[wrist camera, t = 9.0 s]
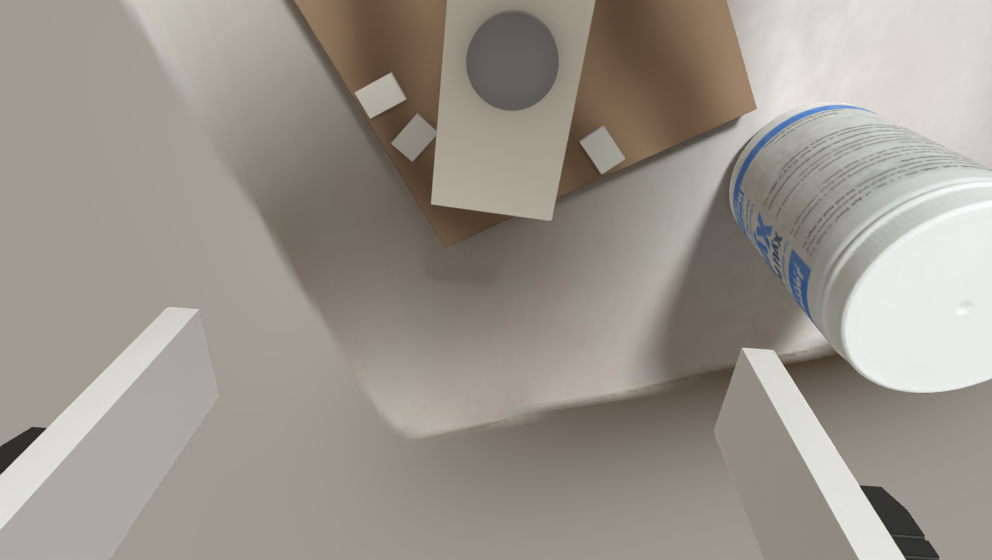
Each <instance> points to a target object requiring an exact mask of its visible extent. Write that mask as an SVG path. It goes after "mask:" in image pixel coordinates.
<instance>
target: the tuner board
mask: <svg viewBox="0 0 992 560" xmlns="http://www.w3.org/2000/svg"><path fill="white" fill-rule="evenodd" d="M294 1H295V3H296V4H297V6H298V7H299V9H300V11H301V12H302V14H303V16H304V17H305V19H306V21H307V22H308V24H309V25H310V27H311V29H312V30H313V32H314V34H315V35H316V37H317V39H318V40H319V42H320V43H321V45H322V47H323V48H324V50H325V52H326V53H327V55H328V57H329V58H330V60H331V61H332V63H333V65H334V66H335V68H336V70H337V71H338V73H339V75H340V76H341V78H342V79H343V81H344V83H345V84H346V86H347V88H348V89H349V91H350V93H351V94H352V96H353V97H354V99H355V101H356V102H357V104H358V106H359V107H360V109H361V111H362V112H363V114H364V115H365V117H366V119H367V120H368V122H369V124H370V125H371V127H372V129H373V130H374V132H375V133H376V135H377V137H378V138H379V140H380V142H381V143H382V145H383V147H384V148H385V150H386V151H387V153H388V155H389V156H390V158H391V160H392V161H393V163H394V165H395V166H396V168H397V169H398V171H399V173H400V174H401V176H402V178H403V179H404V181H405V183H406V184H407V186H408V187H409V189H410V191H411V192H412V194H413V196H414V197H415V199H416V201H417V202H418V204H419V205H420V207H421V209H422V210H423V212H424V214H425V215H426V217H427V219H428V220H429V222H430V223H431V225H432V227H433V228H434V230H435V232H436V233H437V235H438V237H439V238H440V240H441V241H442V243H443V245H444V246H445V247H447V246H449V245H451V244H454V243H456V242H458V241H460V240H463V239H465V238H467V237H469V236H472V235H474V234H476V233H478V232H481V231H483V230H485V229H487V228H490V227H492V226H494V225H496V224H499V223H501V222H503V221H505V220H508V219H510V218H512V217H514V216H511V215H504V214H497V213H490V212H483V211H476V210H468V209H461V208H454V207H447V206H440V205H432V204H431V197H432V185H433V172H434V160H435V147H436V136H435V137H434V138H433V140H432V141H431V142H430V143H429V144H428V145H427V146H426V147H425V148H424V150H423V151H422V152H421V153H420V154H419V155H418V156H417V157H416V158H415V160H414V161H413V162H412V161H411V160H410V159H408V158H407V157H406V156H405V155H404V154H403V153H401V152H400V151H399V150H398V149H397V148H396V147H394V146H393V145H392V144H391V143H392V142H393V140H394V139H395V138H396V137H397V136H398V135H399V134H400V132H401V131H402V130H403V129H404V128H405V127H406V125H407V124H408V123H409V122H410V121H411V120H412V118H413V117H414V116H415V115H416V114H417V113H419V114H420V115H421V116H422V117H423V118H425V119H426V120H427V121H428V122H429V123H430V124H431V125H432V126H433V127H435V128H436V129H437V122H438V109H439V97H440V84H441V72H442V59H443V47H444V34H445V22H446V9H447V0H294ZM391 72H392V73H393V75H394V77H395V79H396V80H397V82H398V84H399V86H400V88H401V89H402V91H403V93H404V95H405V96H406V98H407V99H406V100H404V101H402V102H401V103H399V104H397V105H395V106H393V107H391V108H389V109H387V110H386V111H384V112H382V113H380V114H378V115H376V116H374V117H372V118H371V119H370V118H369V116H368V114H367V113H366V111H365V109H364V108H363V106H362V104H361V103H360V101H359V100H358V98H357V96H356V95H355V92H356V91H358V90H360V89H362V88H364V87H365V86H367V85H369V84H371V83H373V82H375V81H376V80H378V79H380V78H382V77H384V76H385V75H387V74H389V73H391ZM755 109H757V108H756V105H755V101H754V97H753V94H752V90H751V87H750V83H749V80H748V76H747V72H746V69H745V65H744V62H743V58H742V55H741V51H740V48H739V44H738V40H737V37H736V33H735V30H734V26H733V23H732V19H731V15H730V12H729V8H728V5H727V1H726V0H596V1H595V6H594V11H593V16H592V21H591V26H590V31H589V36H588V41H587V46H586V51H585V56H584V61H583V66H582V71H581V76H580V81H579V86H578V91H577V96H576V101H575V106H574V111H573V116H572V121H571V126H570V131H569V136H568V141H567V146H566V151H565V156H564V161H563V166H562V171H561V176H560V181H559V186H558V191H557V196H556V198H557V197H560V196H562V195H564V194H566V193H569V192H571V191H573V190H575V189H578V188H580V187H582V186H584V185H587V184H589V183H591V182H593V181H596V180H598V179H600V178H602V177H605V176H607V175H609V174H611V173H614V172H616V171H618V170H620V169H623V168H625V167H627V166H629V165H632V164H634V163H636V162H638V161H641V160H643V159H645V158H647V157H650V156H652V155H654V154H656V153H659V152H661V151H663V150H665V149H668V148H670V147H672V146H674V145H677V144H679V143H681V142H683V141H686V140H688V139H690V138H692V137H695V136H697V135H699V134H701V133H704V132H706V131H708V130H710V129H713V128H715V127H717V126H719V125H722V124H724V123H726V122H728V121H731V120H733V119H735V118H737V117H740V116H742V115H744V114H746V113H749V112H751V111H753V110H755ZM601 125H604V127H605V128H606V130H607V131H608V133H609V134H610V136H611V137H612V139H613V140H614V142H615V143H616V145H617V146H618V148H619V150H620V151H621V153H622V154H623V156H624V157H625V160H623V161H622V162H620V163H619V164H617V165H616V166H614V167H612V168H611V169H609V170H608V171H606V172H605V173H603V174H601V173H600V171H599V170H598V168H597V167H596V165H595V164H594V162H593V161H592V159H591V158H590V157H589V155H588V154H587V152H586V151H585V149H584V148H583V146H582V145H581V143H580V142H579V141H580V140H581V139H582V138H584V137H585V136H587V135H588V134H590V133H591V132H593V131H594V130H596V129H597V128H599V127H600V126H601Z"/></svg>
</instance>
